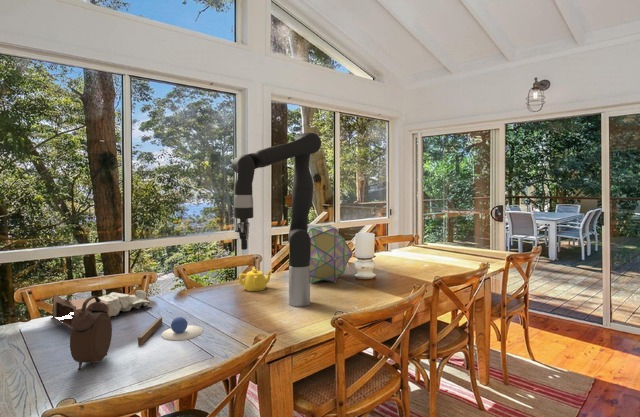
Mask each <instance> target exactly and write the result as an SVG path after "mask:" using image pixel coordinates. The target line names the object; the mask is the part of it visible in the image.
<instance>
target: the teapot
mask: <svg viewBox="0 0 640 417" xmlns="http://www.w3.org/2000/svg"><path fill="white" fill-rule="evenodd" d="M273 271H274V269H271V270H268V272H267V276H265V275H264V273H263V271H261V270H258V269H257V268H256V267H255V266H252V271H251V270H250V271H248V272H246V273H239V277H238V284H240V285H242V286H243V288H244V290H246V291H247V292H259V291H264V290H265V289H266V287H267V284H268V283H269V282H270V278H271V274H272V272H273ZM243 277H244V280H243Z"/></svg>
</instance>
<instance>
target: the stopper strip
mask: <svg viewBox="0 0 640 417" xmlns="http://www.w3.org/2000/svg"><path fill="white" fill-rule="evenodd" d="M162 324H163V317H162V316H159V317H158V318H157V319H155V320H154V321H153V322H152V323H151V324H150V325H149V326H148V327H147V328H146V329H145V330H144V331H143V332H142V333H141V334H140V335H139V336H138V337H137V345H138V346H142V345H143V344H144V343H145V342H146V341H148V339H149V338H150V337H151V336H152V335H153V334H154V333H155V332H156V331H157V330H158V329H159V328H160V327H161V325H162Z"/></svg>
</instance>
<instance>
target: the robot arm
mask: <svg viewBox="0 0 640 417" xmlns="http://www.w3.org/2000/svg"><path fill="white" fill-rule="evenodd" d="M321 148H322V139H321V137H320V136H319V135H318V134H316V133H315V132H305V133H304V132H303V133H300V134H298V135H297V136H296V137H295V139H294V141H290V142H286V143H283V144H277V145H272V146H269V147H266V148H262V149H258V150H257V151H255V152H251V153H247V154H243V155H239V156H237V157H235V158H233V160H232V161H231V162H232V163H231V168H232V170H233V172H235V173H236V174H237V179H236V181H235V182H234V199H233V203H234V204H233V210H234V214H233V217H234V219H239V223H238V233H239V239H240V241H241V242H240V243H241V244H240V246H241V250H243V251H244V250H248V240H249V233H250V222H249V219H253V218H254V196H253V195H254V193H253V183H254V182H253V181H254V176H255V171H256V170H257V169H259V168H260V169H262V168H265V167H269V166H272V165H274V164H277V163H281V162H283V161H286V160H288V159H291V158H294V163H293V164H294V167H293V181H292V189H291V190H292V191H291V219H290V220H291V221H290V226H289V231H288V236H287V240H288V244H289V245H288V248H289V256H288V304H289V305H290V306H291V307H305V306H310V305H311V282H310V257H311V240H310V236H309V234H308V232H307V225H308V221H309V220H308V218H309V215H310V211H311V207H312V203H313V198H314V180H313V177H312V174H311V170H310V159H311V158H310V157H311V155H313V154H317V153H318V152H319V150H320V149H321Z"/></svg>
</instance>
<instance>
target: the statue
mask: <svg viewBox="0 0 640 417" xmlns="http://www.w3.org/2000/svg"><path fill="white" fill-rule="evenodd" d="M52 295H53V297H52V299H51V302H52V310H51V312H52V314H51V317H52V316H53V317H62V316H65V315H68V314H69V313H70V312H74V315H75V314H77V313H78V312H80V311H81V310H82V305H83V303H84V301H85V300H86V299H88V298H89V297H83V298H76V299H65V298H62V297H60V296H59V294H56V293H53V294H52ZM146 297H147V292H146V291H144V290H142V289H140V290H135V294H130V295H129V294H127V293H119V292H110V293H108V294H106V295H102V296H98V298H99V299H100V300H101V301H100V302H103V303H105V304H106V305H107V307H108V313H107V314H108V315H109V317H110V318H111V317H116V316H117V315H119V314H120V311H121V312H122V313H124V312H130V311H131V309H132V308H137V307H140V306H141V307H147V305H153V304H152V302H151V301H150V300H147V299H146ZM93 302H96V300H95V298H93V299H91V300H90V301H89V302H88V303H87V306H86V310H87V307H88V306H89V304H91V303H93ZM86 310H85V311H86ZM69 315H70V314H69ZM74 315H73V316H74ZM60 321H61V322H63V323H64V324H65V325H64V324H63V325H64V326H66V325H67V326H68V327H67V326H66V327H67V328H69V329H70V328H71V330H72V329H73V327H72V319H64V320H60ZM61 322H60V323H61ZM68 335H71V332H70V333H68Z"/></svg>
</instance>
